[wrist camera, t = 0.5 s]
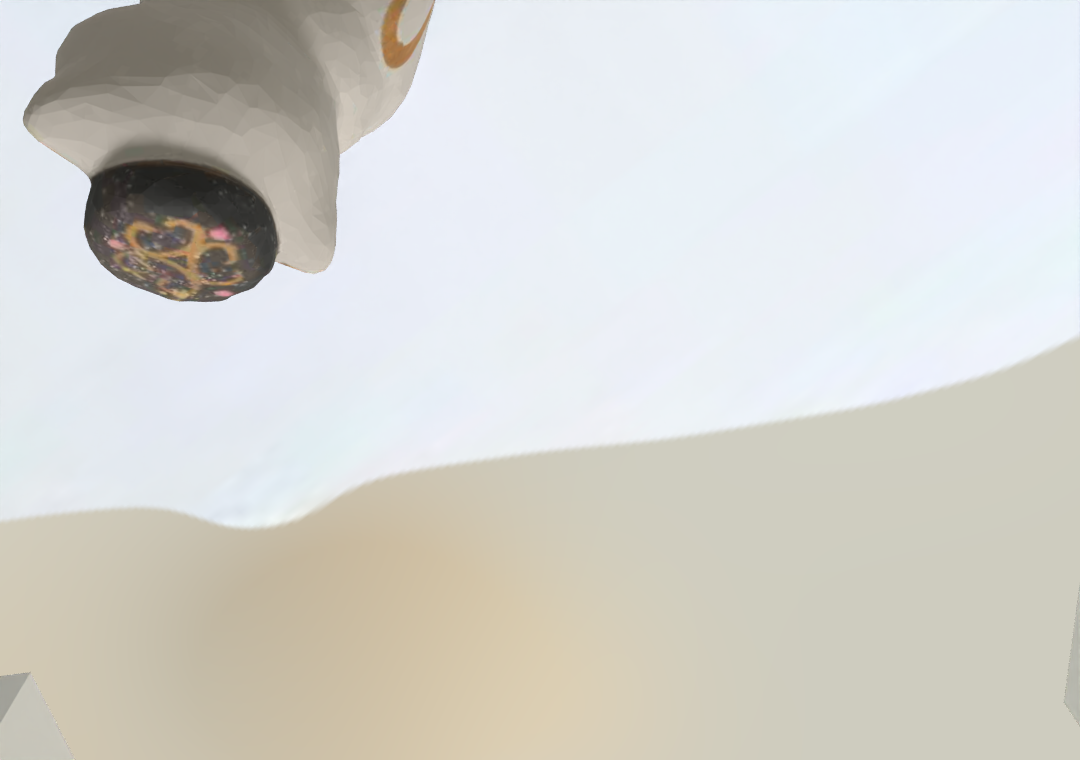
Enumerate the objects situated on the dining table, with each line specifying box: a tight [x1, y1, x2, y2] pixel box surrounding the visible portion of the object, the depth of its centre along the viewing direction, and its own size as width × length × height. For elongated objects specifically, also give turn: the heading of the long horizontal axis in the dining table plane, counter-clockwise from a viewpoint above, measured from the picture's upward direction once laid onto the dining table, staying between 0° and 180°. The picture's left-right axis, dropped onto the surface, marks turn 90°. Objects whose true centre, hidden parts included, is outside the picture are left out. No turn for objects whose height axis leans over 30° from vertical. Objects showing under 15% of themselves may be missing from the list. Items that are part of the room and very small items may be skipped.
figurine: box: [23, 0, 435, 302], centre depth 27 cm, size 9×10×15 cm
